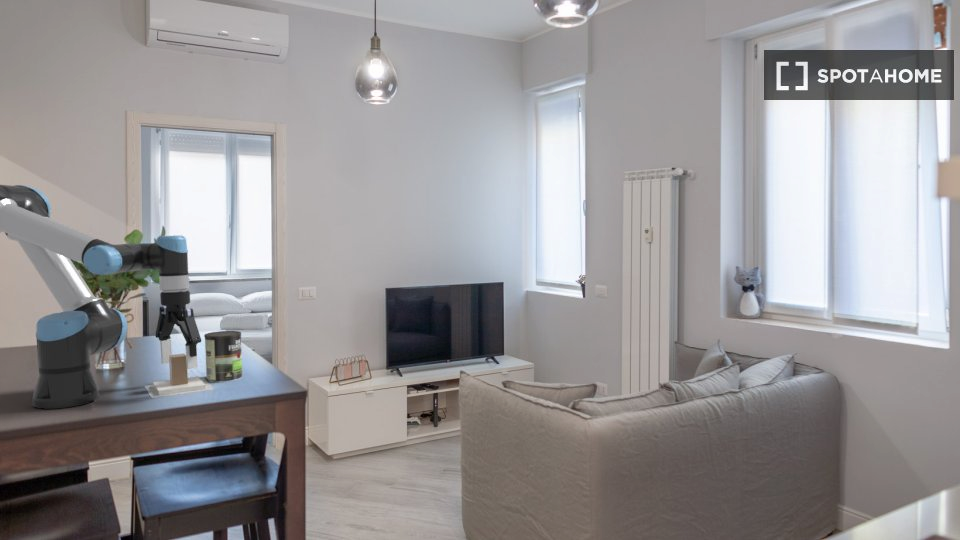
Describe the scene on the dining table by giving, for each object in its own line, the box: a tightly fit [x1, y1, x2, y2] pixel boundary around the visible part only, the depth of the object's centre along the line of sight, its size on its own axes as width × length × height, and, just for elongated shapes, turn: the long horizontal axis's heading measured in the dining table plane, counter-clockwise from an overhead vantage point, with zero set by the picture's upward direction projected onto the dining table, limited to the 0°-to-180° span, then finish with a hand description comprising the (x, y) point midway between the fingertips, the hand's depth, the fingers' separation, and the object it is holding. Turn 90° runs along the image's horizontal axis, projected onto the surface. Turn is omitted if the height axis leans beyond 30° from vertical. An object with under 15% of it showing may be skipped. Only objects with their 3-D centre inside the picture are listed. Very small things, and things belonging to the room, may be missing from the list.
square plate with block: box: [152, 353, 206, 395], centre depth 187 cm, size 12×12×9 cm
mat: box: [144, 377, 216, 399], centre depth 188 cm, size 16×16×1 cm
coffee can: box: [203, 330, 243, 383], centre depth 199 cm, size 10×10×14 cm
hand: (179, 365), depth 187 cm, fingers open, 13 cm apart
